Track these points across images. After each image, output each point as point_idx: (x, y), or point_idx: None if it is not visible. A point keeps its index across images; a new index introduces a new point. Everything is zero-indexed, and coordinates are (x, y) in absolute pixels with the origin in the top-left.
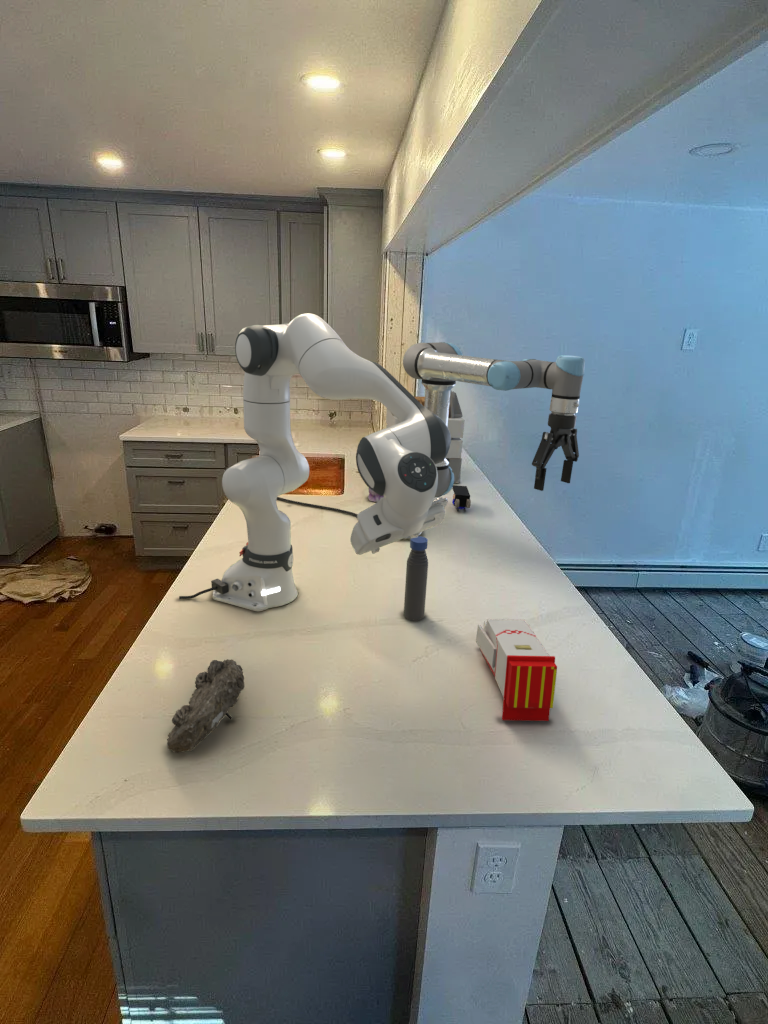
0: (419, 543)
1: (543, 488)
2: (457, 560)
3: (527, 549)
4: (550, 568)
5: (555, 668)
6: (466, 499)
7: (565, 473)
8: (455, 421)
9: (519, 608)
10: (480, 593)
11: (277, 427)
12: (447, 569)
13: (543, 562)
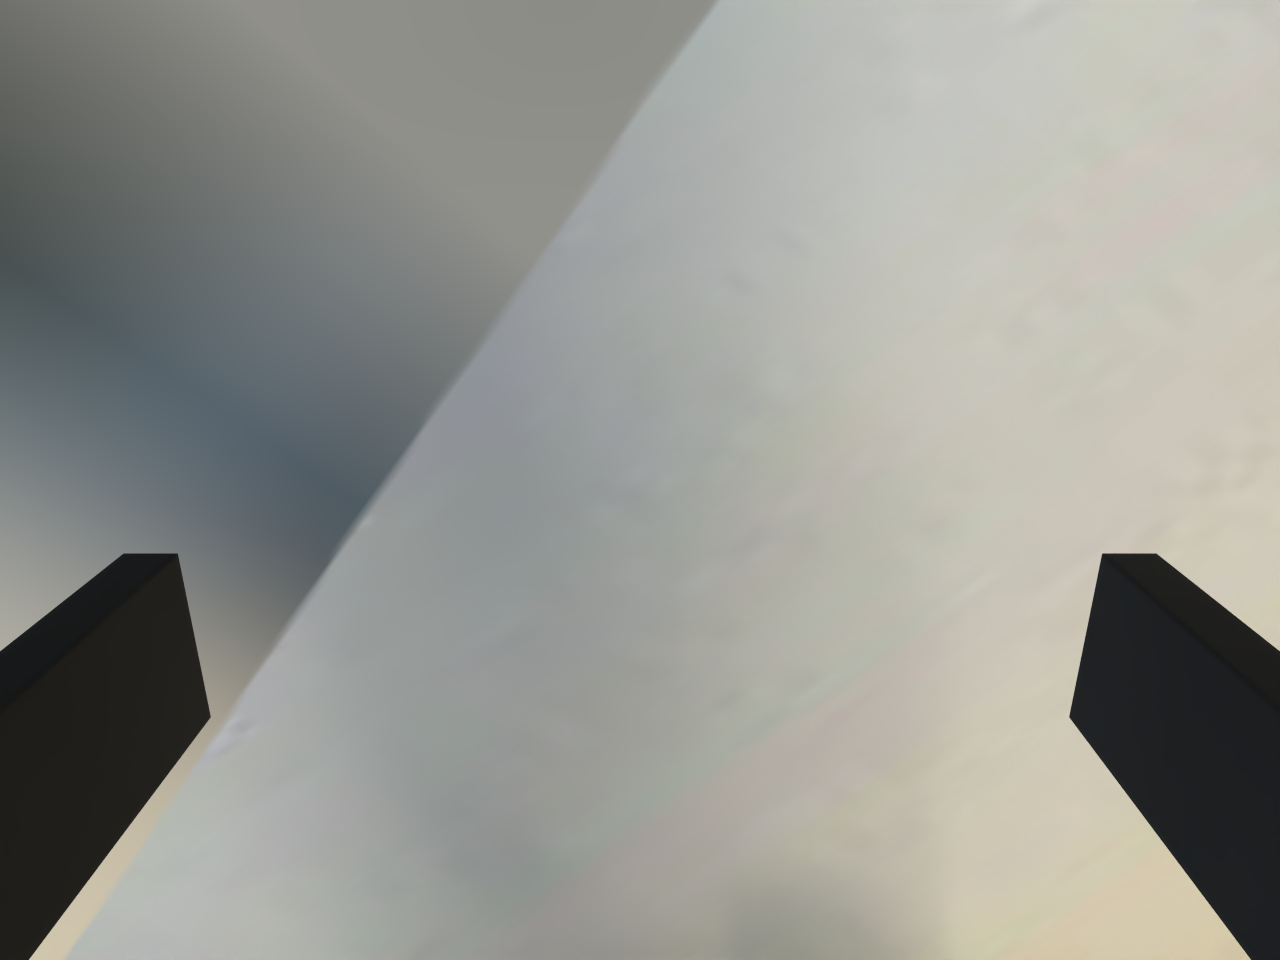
0: None
1: (1130, 574)
2: (913, 709)
3: (394, 574)
4: (514, 298)
5: None
6: None
7: (90, 768)
8: None
9: (1231, 51)
10: (1213, 348)
11: None
12: (1066, 664)
13: (473, 386)
